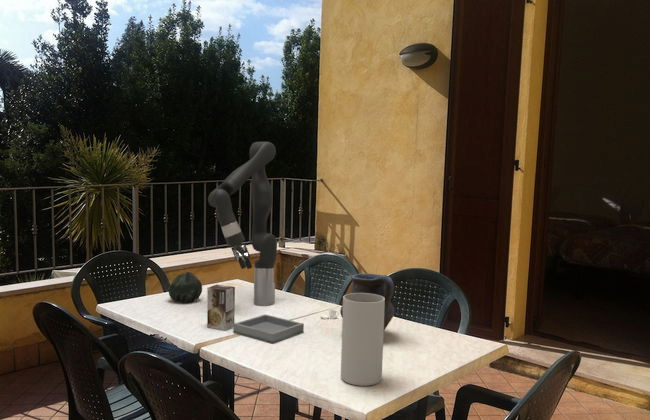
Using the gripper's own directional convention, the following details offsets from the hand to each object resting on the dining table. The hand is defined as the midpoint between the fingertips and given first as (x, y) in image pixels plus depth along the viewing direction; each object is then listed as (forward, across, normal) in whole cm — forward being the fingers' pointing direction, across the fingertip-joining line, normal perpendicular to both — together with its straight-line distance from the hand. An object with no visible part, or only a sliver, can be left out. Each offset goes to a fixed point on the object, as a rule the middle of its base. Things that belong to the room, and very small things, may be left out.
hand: (246, 268), depth 231 cm
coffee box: (+15, -13, +23) cm, 30 cm away
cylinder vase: (+35, -79, +3) cm, 87 cm away
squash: (+7, +33, +24) cm, 41 cm away
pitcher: (+38, -45, -21) cm, 62 cm away
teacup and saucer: (+33, -14, -21) cm, 41 cm away
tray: (+23, -26, +9) cm, 36 cm away
